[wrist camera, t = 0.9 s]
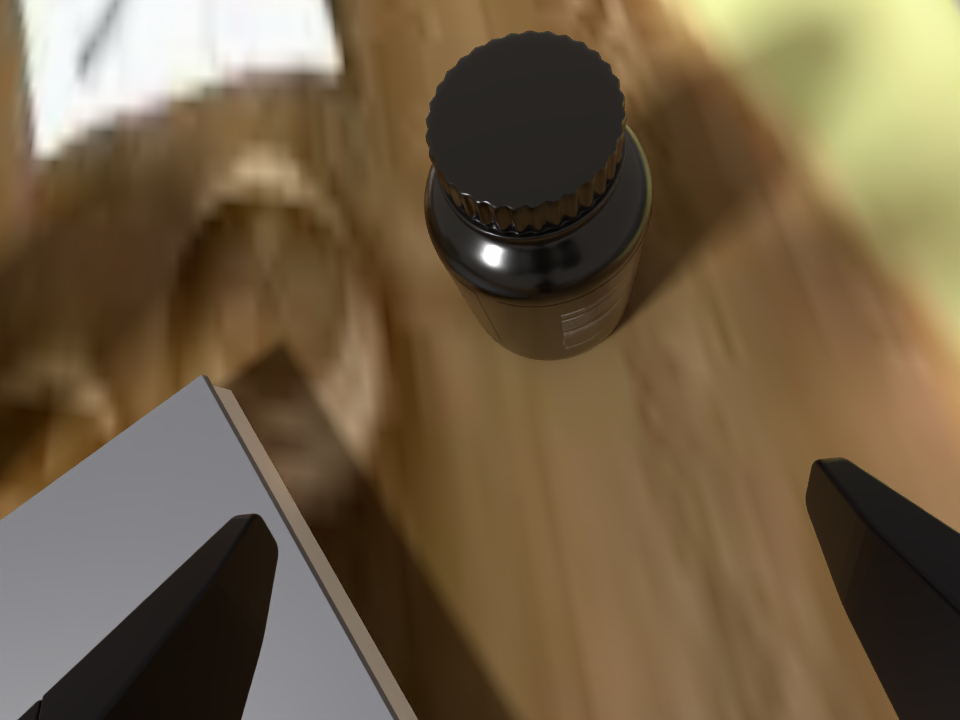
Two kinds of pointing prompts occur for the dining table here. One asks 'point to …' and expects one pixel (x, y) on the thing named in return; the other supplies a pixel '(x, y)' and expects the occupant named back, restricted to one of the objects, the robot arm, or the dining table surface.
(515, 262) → the supplement bottle
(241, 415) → the book
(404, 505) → the dining table surface
